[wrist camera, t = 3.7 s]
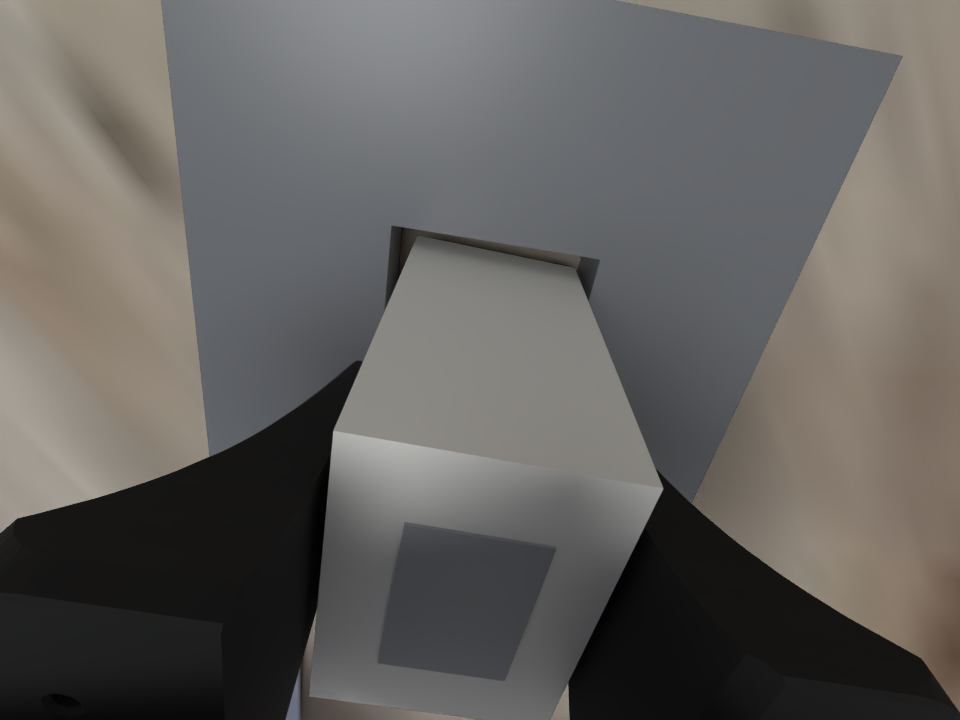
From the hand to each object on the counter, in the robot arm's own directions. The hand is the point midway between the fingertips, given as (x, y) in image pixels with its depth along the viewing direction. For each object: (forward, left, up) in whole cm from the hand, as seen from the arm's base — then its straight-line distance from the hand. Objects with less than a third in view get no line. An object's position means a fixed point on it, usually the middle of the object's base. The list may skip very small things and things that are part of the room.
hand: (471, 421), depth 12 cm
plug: (0, 0, -3) cm, 3 cm away
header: (0, 0, -4) cm, 4 cm away
